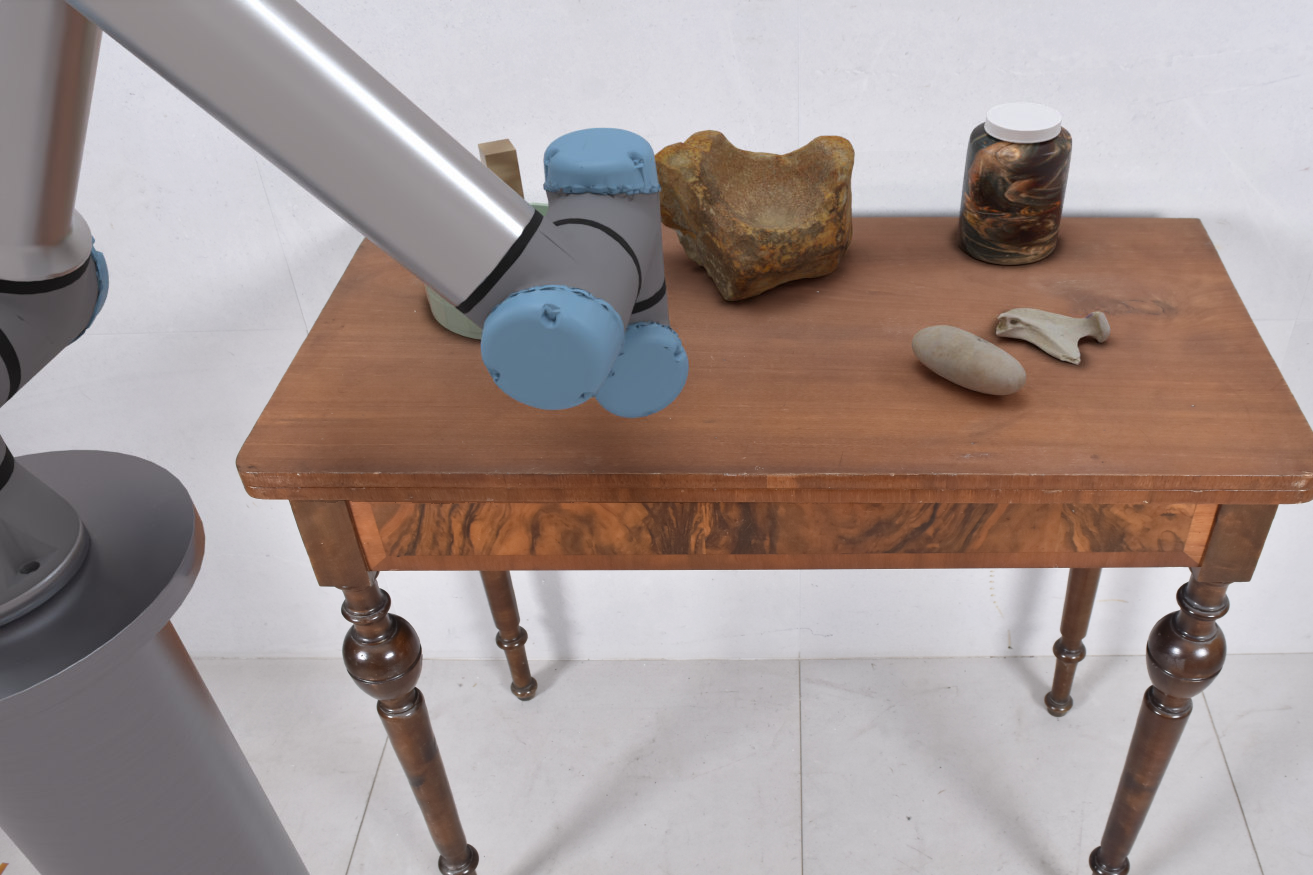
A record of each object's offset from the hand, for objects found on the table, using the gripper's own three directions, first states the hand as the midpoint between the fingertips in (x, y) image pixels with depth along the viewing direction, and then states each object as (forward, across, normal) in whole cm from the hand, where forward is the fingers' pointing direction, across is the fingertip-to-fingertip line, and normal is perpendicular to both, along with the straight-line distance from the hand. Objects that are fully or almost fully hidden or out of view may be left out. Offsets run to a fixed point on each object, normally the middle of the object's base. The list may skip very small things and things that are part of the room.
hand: (518, 186), depth 102 cm
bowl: (+9, 0, -16) cm, 19 cm away
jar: (-4, +55, -16) cm, 58 cm away
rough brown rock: (+1, +25, -16) cm, 30 cm away
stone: (-27, +35, -16) cm, 47 cm away
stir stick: (+9, 0, -16) cm, 18 cm away
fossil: (-24, +47, -16) cm, 55 cm away
